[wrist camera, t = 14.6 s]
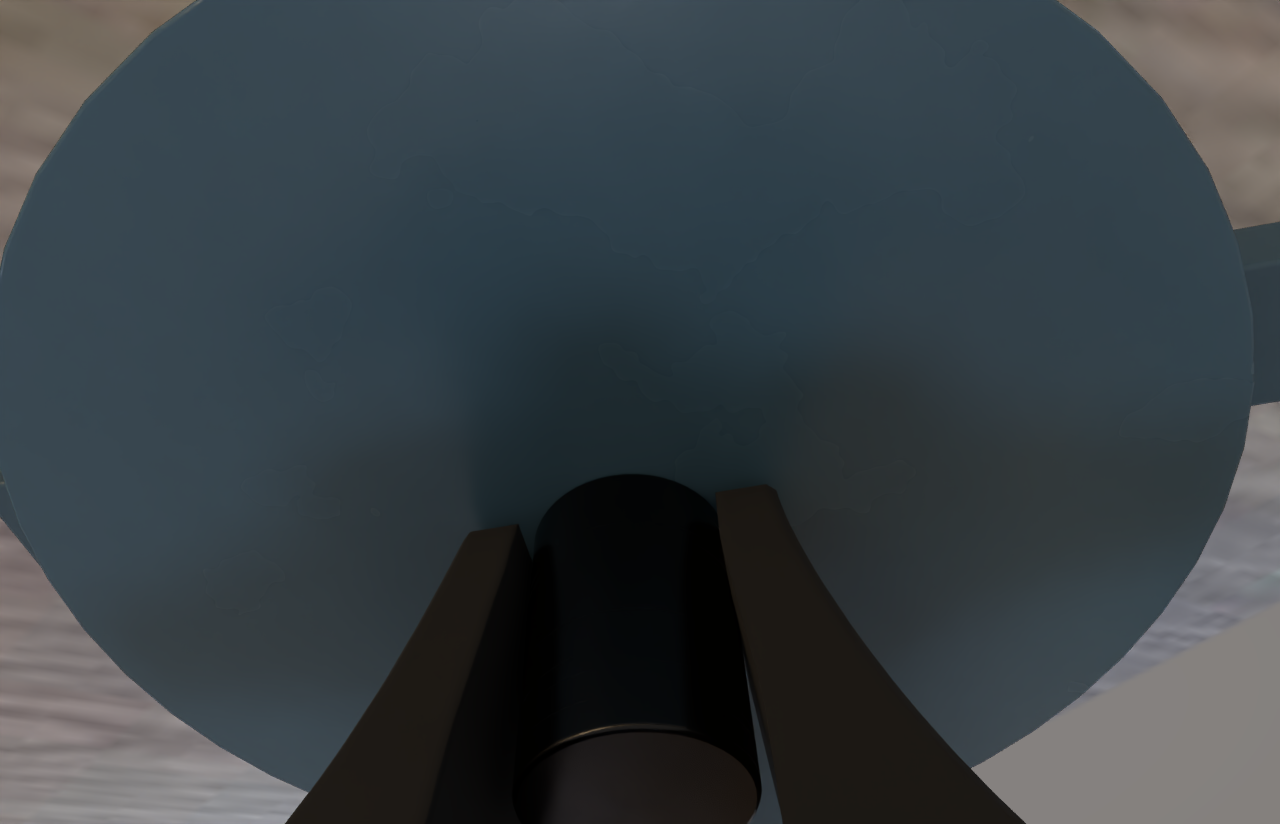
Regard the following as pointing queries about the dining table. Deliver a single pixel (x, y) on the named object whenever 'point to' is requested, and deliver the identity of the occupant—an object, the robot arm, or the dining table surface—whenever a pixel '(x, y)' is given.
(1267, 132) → the dining table surface
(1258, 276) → the pot
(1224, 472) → the lid
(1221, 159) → the dining table surface
